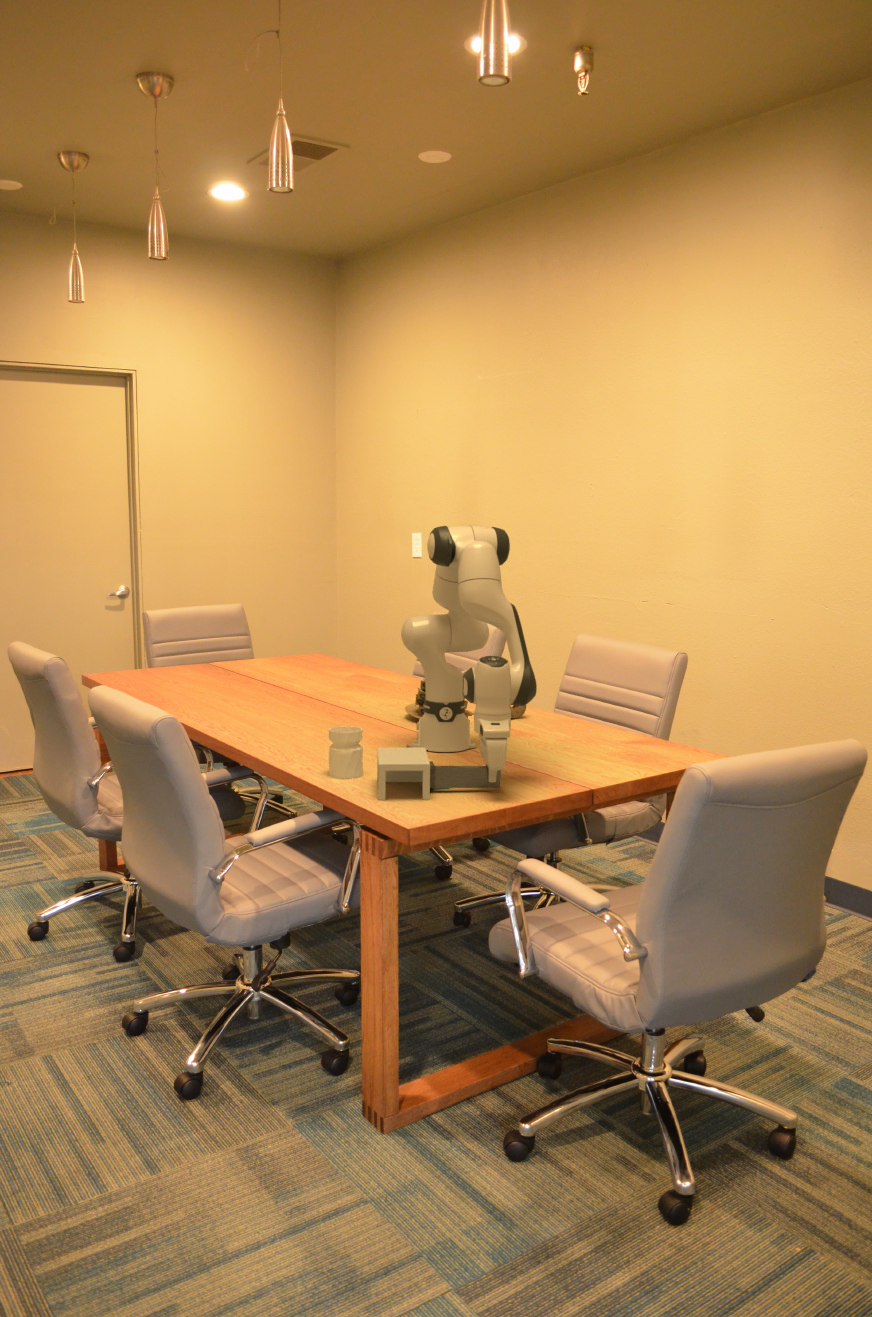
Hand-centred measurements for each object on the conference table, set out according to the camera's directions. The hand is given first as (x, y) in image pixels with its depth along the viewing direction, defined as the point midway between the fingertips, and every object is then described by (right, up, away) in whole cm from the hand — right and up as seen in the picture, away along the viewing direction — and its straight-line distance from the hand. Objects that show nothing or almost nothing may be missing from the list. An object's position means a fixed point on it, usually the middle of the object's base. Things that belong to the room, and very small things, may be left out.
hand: (491, 780), depth 240 cm
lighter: (-23, -1, +13) cm, 26 cm away
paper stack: (-12, +9, +93) cm, 94 cm away
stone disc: (+12, +9, +95) cm, 96 cm away
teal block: (-12, -2, +3) cm, 13 cm away
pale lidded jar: (-37, -1, +14) cm, 39 cm away
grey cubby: (-22, -2, 0) cm, 22 cm away
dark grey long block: (-7, -1, +2) cm, 7 cm away
